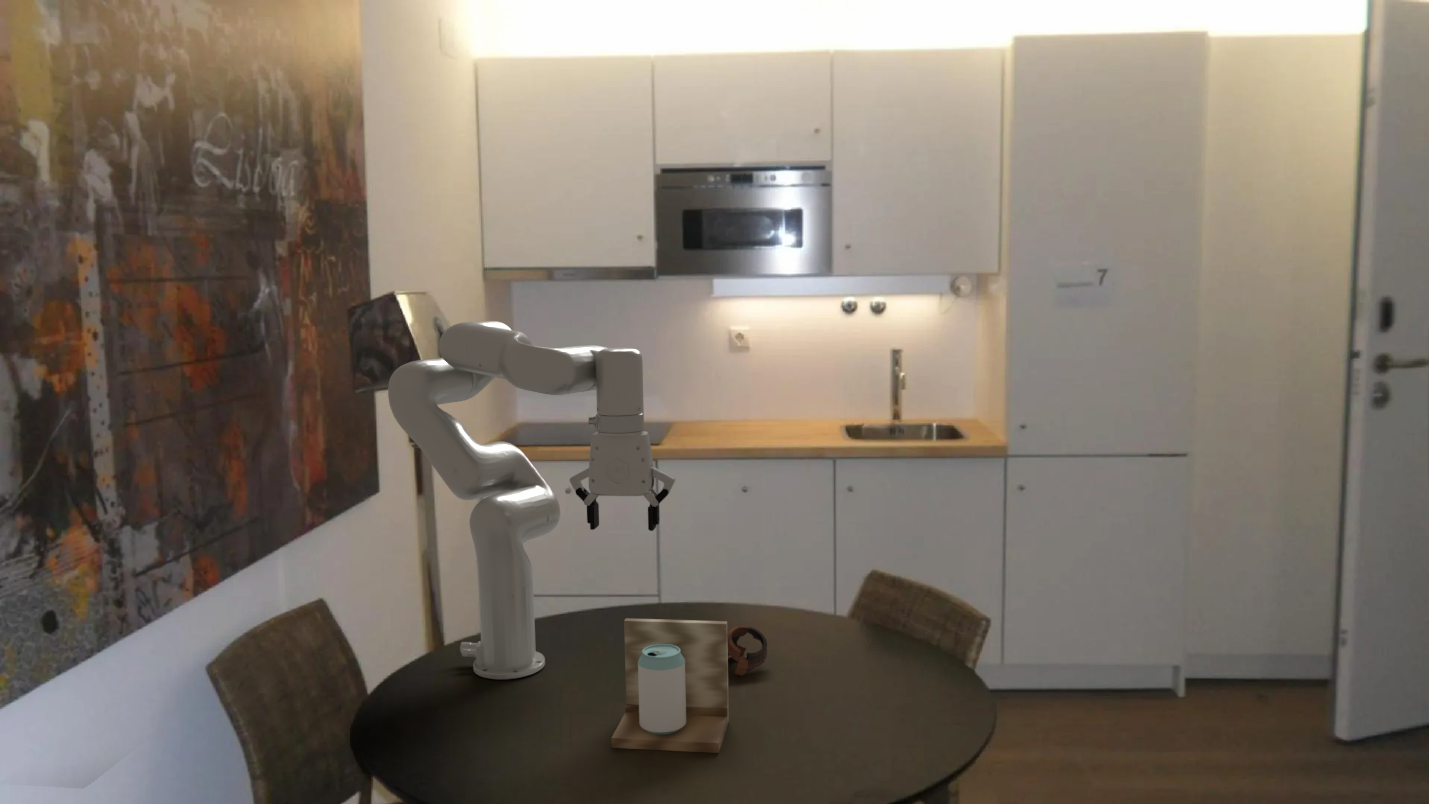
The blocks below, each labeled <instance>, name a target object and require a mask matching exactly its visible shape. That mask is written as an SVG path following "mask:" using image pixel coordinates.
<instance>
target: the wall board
mask: <svg viewBox="0 0 1429 804" xmlns="http://www.w3.org/2000/svg"><path fill="white" fill-rule="evenodd" d="M623 624H624V625H623V629H624V632H623V633H624V634H623V635H624V662H625V663H624V664H625V665H624V666H625V667H624V668H625V697H626V698H625V699H626V702H625V703H626V704H625V706H624V710H625V712H624V714H623V716H622V717H621V719H620V721H619V723H618V725H617V727H616V729H615V730H614V732H613V734H612V736H611V741H610V742H611V748H612V749H629V750H630V749H631V750H632V749H634V750H648V751H649V750H650V751H651V750H652V751H654V750H655V751H667V752H668V751H671V752H688V753H689V752H690V753H691V752H692V753H714V754H719V753H720V751H721V747H722V744H723V741H724V738H725V734H726V731H727V728H728V726H729V725H728V724H729V721H730V717H729V716H730V712H729V710H730V709H729V707H730V706H729V661H728V660H729V656H728V635H727V632H728V621H725V620H724V621H722V620H719V621H718V620H694V619H693V620H690V619H664V618H663V619H660V618H659V619H658V618H657V619H656V618H629V617H626V618H625V619H624V620H623ZM655 644H671V645H675V646H677V647H679V648H680V650H681V651H680V653H681V654H682V656H683V657H684V659H685V685H686V724H685V725H684V726H683V727H682V728H681V729H679V730H678V731H677V732H674V733H671V734H665V735H658V734H652V733H649V732H648V731H646V730H644V729H643V728H642V727H641V726H640V724H639V685H638V660H639V658H640V657H641V655H642V650H643V649H644V648H645V647H647V646H650V645H655Z"/></svg>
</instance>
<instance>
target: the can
mask: <svg viewBox="0 0 1429 804" xmlns="http://www.w3.org/2000/svg"><path fill="white" fill-rule="evenodd" d="M680 651H681V650H680V648H679V647H677V646H675V645H671V644H655V645H650V646H647V647H645V648H644V649H643V650H642V655H641V657H640V658H639V660H638V685H639V724H640V726H641V727H642V728H643V729H644V730H646V731H648V732H649V733H652V734H658V735H665V734H671V733H674V732H677V731H678V730H679V729H681V728H682V727H683V726H684V725H685V724H686V685H685V659H684V657H683V656H682V654H681V653H680Z"/></svg>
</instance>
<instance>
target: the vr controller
mask: <svg viewBox="0 0 1429 804" xmlns="http://www.w3.org/2000/svg"><path fill="white" fill-rule="evenodd" d="M747 634H749V635H751V636H752V639H754V640H756V641H757V640H758V641H759V642H760V643H761V649H760V650H758V651H755V652H747V653H746V650H747V647H746V646H742V645H740V644H738V641H739V640H740V638H741V637H745V636H746V635H747ZM727 635H728V657H729V656H730V657H731V658H732V659H733V661H736V662H737V665H736V667H735V669H734V674H736V675H737V676H739V677H740V676H741V677H743V676H745V674H747V672H749V671H753V670H754V669H756V668H757V667H759V666H761V665H762V664H763V663H764V662H765V660H766V659H767V657H768V642H767V639H766V637H765V636H764V634H763V633H762V632H761V631H760V630H758V629H756V628H755V627H753V626H749V625H748V626H747V625H736V626H733V627H732V628H730V630H728V631H727ZM745 653H746V657H744V656H745Z"/></svg>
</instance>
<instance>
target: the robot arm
mask: <svg viewBox="0 0 1429 804" xmlns="http://www.w3.org/2000/svg"><path fill="white" fill-rule="evenodd" d="M438 342H439V343H438V350H439V354H440V356H441V357H436V358H435V357H434V358H423V359H418V360H413V361H409V362H407V363H405V364H402V365H400V366H399V367H397V368H396V369H395V370H394V371H393V373H392V374H391V376H390V378H389V382H388V386H387V388H388V389H387V395H388V397H387V398H388V403H389V407H390V409H391V412H392V415H393V417H394V418H395V420H396V422H397V424H398V425H399V426H400V428H401V429H402V430H403V431H404V433H406V435H407V436H409V438H410V439H411V440H412V441H413V442H414V443H415V444H416V446H418V448H419V449H420V450H421V452H422V453H423V454H424V456H425V457H426V458H427V460H428V461H429V463H430V464H431V465H432V467H433V468H434V469H435V471H436V472H437V474H438V475H439V477H440V478H441V480H442V481H443V483H444V484H445V485H446V486H447V487H448V489H449V490H450V491H451V493H452V494H453V495H454V496H456V497H457V498H458V499H460V500H464V501H473V500H478V499H481V500H480V501H479V502H478V503H477V504H475V506H474V507H473V509H472V511H471V513H470V517H469V530H470V535H471V538H472V542H473V546H474V550H475V558H476V566H477V582H478V583H477V584H478V599H479V601H478V602H479V604H478V605H479V621H480V640H479V641H477V642H471V641H469V642H468V641H461V643H460V646H459V651H460V653H461V656H462V657H463V658H464V657H467V658H469V657H472V658H474V659H475V660H474V661H473V665H472V670H473V672H474V673H475V674H476V675H477V676H479V677H482V678H484V679H490V680H513V679H520V678H524V677H528V676H531V675H534V674H536V673H537V672H539V671H540V670H542V669H543V668H544V667H545V665H546V658H545V655H543V653H541V652H539V651H536V629H535V627H536V625H535V606H534V605H535V602H534V598H535V597H534V595H535V594H534V573H533V566H532V563H531V559H530V558H529V555H528V554H527V551H526V550H525V548H524V544H523V543H526V542H527V541H530V540H534V539H536V538H539V537H542V536H544V535H547V534H549V533H550V532H552V531H553V530H555V528H556V527H557V526H558V524H559V522H560V520H561V519H560V518H561V508H560V504H559V500H558V498H557V496H556V494H555V493H554V491H553V490H552V488H551V487H550V485H549V484H548V482H546V480H545V479H544V477H543V476H542V475H541V473H540V472H539V471H538V469H537V467H535V466H534V464H533V463H532V462H531V461H530V459H529V458H528V457H527V456H526V454H525V453H524V452H523V451H522V450H521V449H520V448H518V447H517V446H516V445H514V444H513V443H510V442H507V441H503V440H502V441H501V440H499V441H497V440H496V441H492V442H485V443H480V442H478V441H476V440H475V438H473V437H472V435H471V434H470V433H469V432H468V431H467V429H466V428H465V426H464V425H463V424H462V423H461V422H460V421H459V419H457V418H456V417H454V416H453V415H452V414H450V413H448V412H446V411H444V409H441V408H440V407H439V405H445V404H450V403H451V404H452V403H457V402H458V403H459V402H463V401H467V400H470V399H472V398H474V397H475V396H477V395H479V393H480V392H482V390H484V389H485V388H486V387H487V386H488V385H489V384H490V383H491V382H492V381H494V380H495V379H496V378H498V379H503V380H506V381H507V382H508V383H509V384H510V385H512V386H513V387H515V388H518V389H521V390H523V391H524V390H525V391H529V392H533V393H534V392H535V393H538V394H544V395H550V396H563V395H569V394H576V393H583V392H589V391H595V390H596V391H595V392H596V393H595V394H596V414H595V416H593V417H592V416H591V417H589V418H588V421H587V423H588V426H593V427H595V429H596V432H593V433H592V435H591V440H590V447H589V459H588V460H589V462H588V463H589V464H588V468H585V469H583V470H582V471H581V472H578V473H577V474H575V475H572V476H571V477H570V478H569V483H570V484H571V486H572V488H573V490H574V492H575V494H576V496H577V497H578V498H579V499H580V500H581V501H582V502H583V504H584V505H585V506H586V523H587V524H589V529H590V530H592V531H594V530H596V529H597V528H598V527H599V526H600V509H599V508H600V505H599V502H598V501H597V498H598V497H599V496H601V497H642V496H643V497H644V498H645V499H646V501H648V503H649V506H647V519H648V520H647V525H648V526H647V527H648V528H647V529H648V531H650V532H653V531H655V529H656V527H657V526H658V525H659V524H660V503H661V502H663V500H665V498H666V497H668V496H669V494H670V492H671V490H672V488H673V487H674V484H675V482H676V478H675V477H674V476H672V475H670V474H668V473H666V472H665V471H662V470H660V469H659V468H657V467H655V466H654V459H653V453H652V452H653V451H652V446H651V445H652V444H651V439H650V434H649V432H648V431H645V418H644V417H645V413H644V412H645V411H644V408H645V406H644V404H645V403H644V377H643V376H644V374H643V373H644V371H643V365H644V364H643V355H642V352H641V351H640V350H638V349H636V348H634V347H605V346H602V345H596V344H589V345H588V344H585V345H573V346H564V347H556V348H554V347H546V346H545V347H544V346H540V345H539V346H538V345H533V344H532V342H531V340H530V338H529V337H528V336H527V335H526V334H525V333H524V332H522V331H518V330H512V329H511V327H510V326H509V325H507V324H505V323H503V322H501V321H497V320H483V321H482V320H481V321H466V322H460V323H455V324H453V325H451V326H449V327H448V328H446V329H445V330H444V332H443V333H442V334H441V336H440V338H439V341H438ZM586 478H588V489H589V491H588V490H587V489H586V488H585V487H584V486H583V483H582V481H583V480H585V479H586ZM655 479H656V480H659V482H662V483H663V487H662V489H661V491H660V492H657V491H656V490H655V489H654V486H655Z"/></svg>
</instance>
